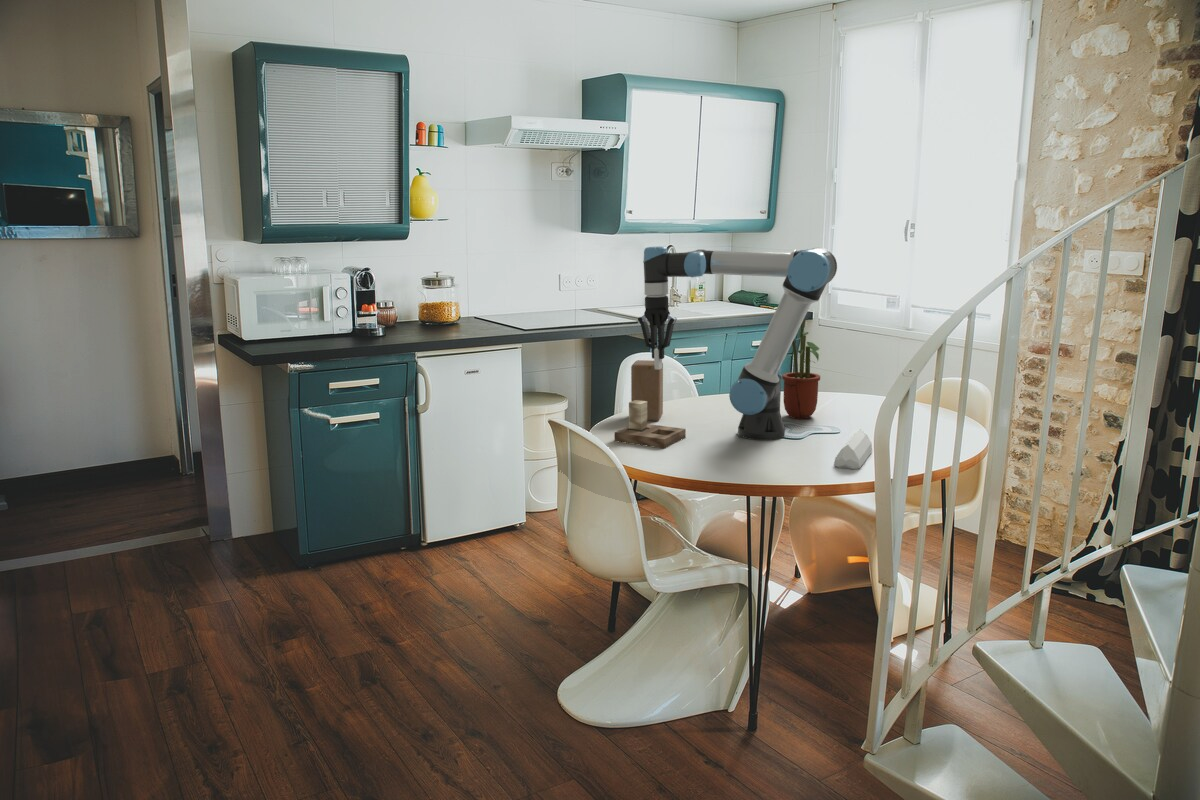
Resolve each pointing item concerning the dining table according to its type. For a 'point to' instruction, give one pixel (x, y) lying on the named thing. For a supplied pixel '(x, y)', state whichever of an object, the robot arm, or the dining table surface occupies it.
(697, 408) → the dining table surface
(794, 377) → the potted plant
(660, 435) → the walnut board
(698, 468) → the dining table surface
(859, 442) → the crystal
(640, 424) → the beech peg
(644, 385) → the wooden block
